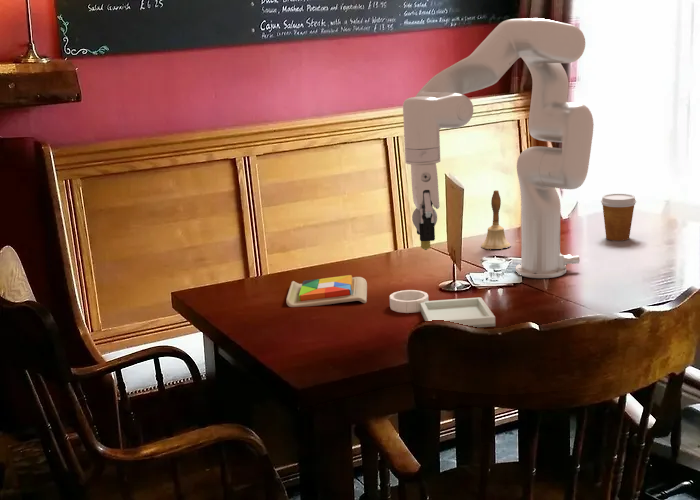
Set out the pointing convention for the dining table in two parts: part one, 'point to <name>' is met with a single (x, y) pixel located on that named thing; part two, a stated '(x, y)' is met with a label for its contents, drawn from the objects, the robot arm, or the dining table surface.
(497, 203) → the hand bell
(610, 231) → the disposable coffee cup
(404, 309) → the holder ring
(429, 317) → the tray
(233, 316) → the dining table surface
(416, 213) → the light bulb
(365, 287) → the wooden puzzle
